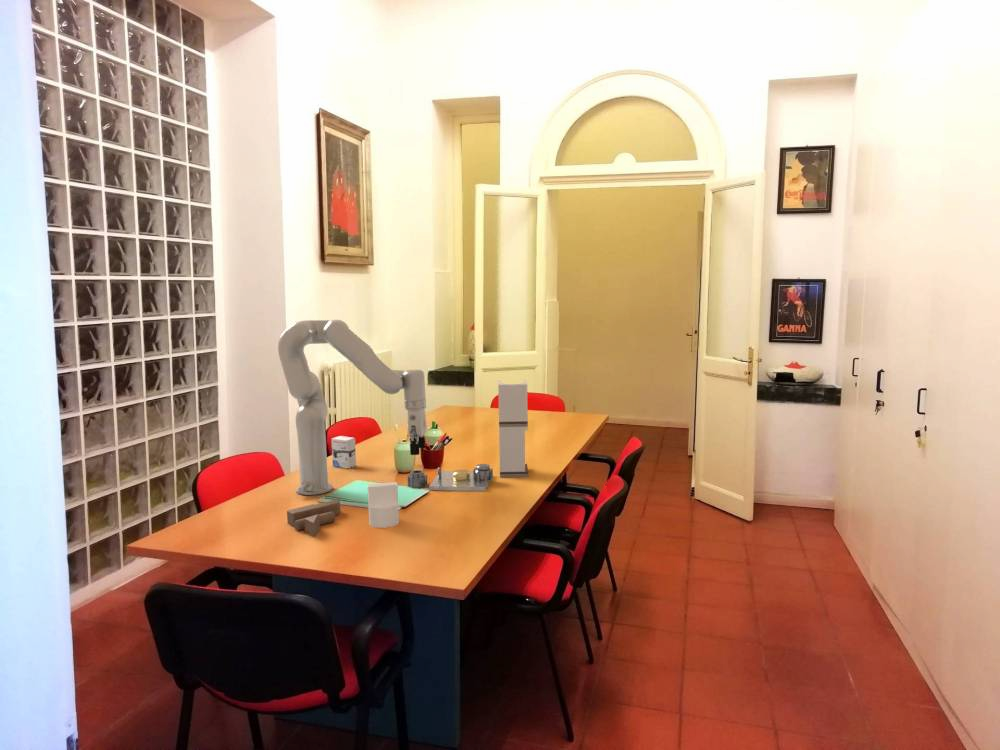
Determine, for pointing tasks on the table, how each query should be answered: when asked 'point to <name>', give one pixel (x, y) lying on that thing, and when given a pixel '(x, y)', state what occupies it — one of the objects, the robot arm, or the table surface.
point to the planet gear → (417, 479)
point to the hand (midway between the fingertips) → (418, 451)
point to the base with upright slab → (383, 504)
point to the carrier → (463, 479)
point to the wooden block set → (313, 516)
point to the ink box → (343, 452)
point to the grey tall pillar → (512, 429)
